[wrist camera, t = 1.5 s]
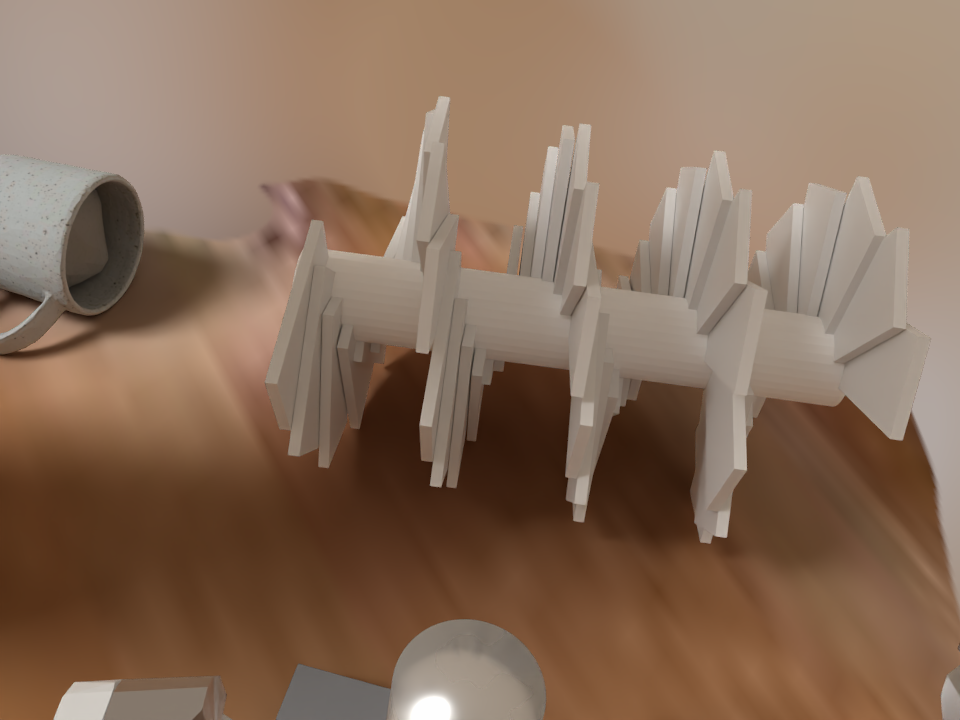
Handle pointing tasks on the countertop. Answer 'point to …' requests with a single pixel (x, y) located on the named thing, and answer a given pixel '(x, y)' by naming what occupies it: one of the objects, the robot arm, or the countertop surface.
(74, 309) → the ceramic mug
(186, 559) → the countertop surface
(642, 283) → the spiral staircase
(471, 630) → the metal post on plate
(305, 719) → the board
